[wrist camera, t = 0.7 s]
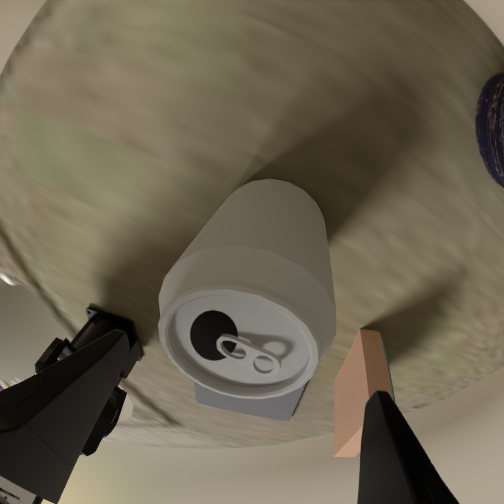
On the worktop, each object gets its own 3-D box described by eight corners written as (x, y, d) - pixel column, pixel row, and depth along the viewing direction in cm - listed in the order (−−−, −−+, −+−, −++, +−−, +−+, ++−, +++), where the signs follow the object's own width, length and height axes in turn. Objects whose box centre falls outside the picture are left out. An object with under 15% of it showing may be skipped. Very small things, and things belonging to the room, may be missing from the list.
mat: (197, 398, 33) (196, 402, 33) (193, 338, 27) (191, 342, 27) (289, 417, 32) (289, 420, 31) (313, 361, 26) (313, 365, 26)
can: (234, 161, 19) (144, 238, 8) (341, 197, 18) (380, 316, 8) (211, 254, 22) (141, 375, 12) (303, 284, 22) (292, 424, 12)
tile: (333, 381, 27) (333, 456, 19) (359, 328, 23) (370, 416, 16) (354, 383, 27) (357, 457, 19) (383, 331, 23) (400, 416, 15)
